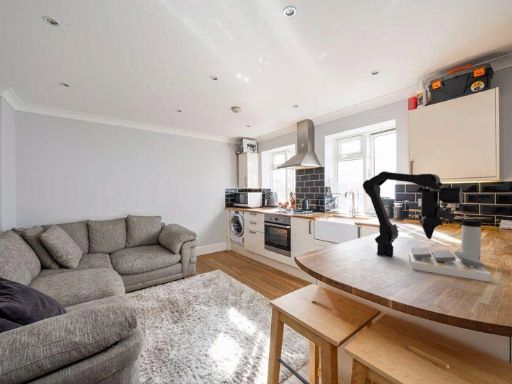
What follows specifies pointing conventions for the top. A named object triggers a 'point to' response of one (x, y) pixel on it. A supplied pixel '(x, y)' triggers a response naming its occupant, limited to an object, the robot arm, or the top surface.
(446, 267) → the switch unit
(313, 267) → the top surface
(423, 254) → the rocker
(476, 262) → the plate
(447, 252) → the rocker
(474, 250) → the travel mug
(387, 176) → the robot arm
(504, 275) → the top surface
